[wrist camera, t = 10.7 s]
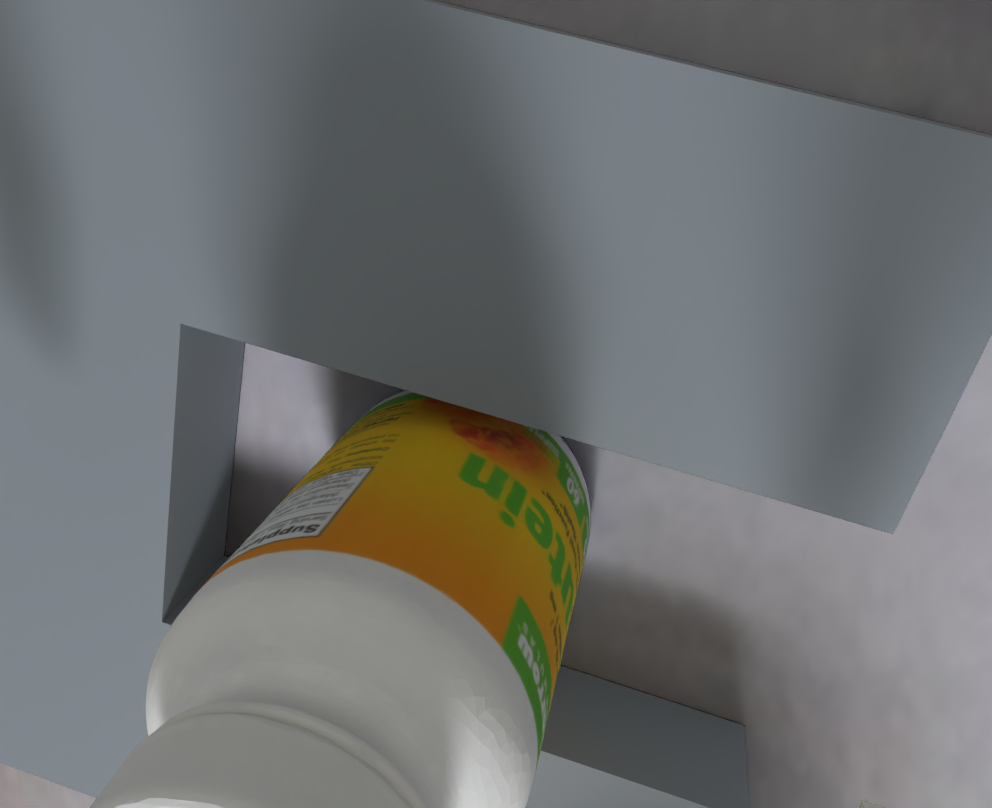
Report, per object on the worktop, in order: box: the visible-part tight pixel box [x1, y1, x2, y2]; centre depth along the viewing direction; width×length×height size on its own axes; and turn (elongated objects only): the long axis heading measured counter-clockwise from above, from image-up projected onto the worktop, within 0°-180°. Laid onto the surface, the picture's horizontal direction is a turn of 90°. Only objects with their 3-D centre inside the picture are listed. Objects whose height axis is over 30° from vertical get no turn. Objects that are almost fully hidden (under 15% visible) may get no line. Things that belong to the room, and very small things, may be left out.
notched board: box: [0, 0, 992, 808], centre depth 17 cm, size 16×18×2 cm
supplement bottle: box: [90, 390, 591, 808], centre depth 13 cm, size 5×5×10 cm
